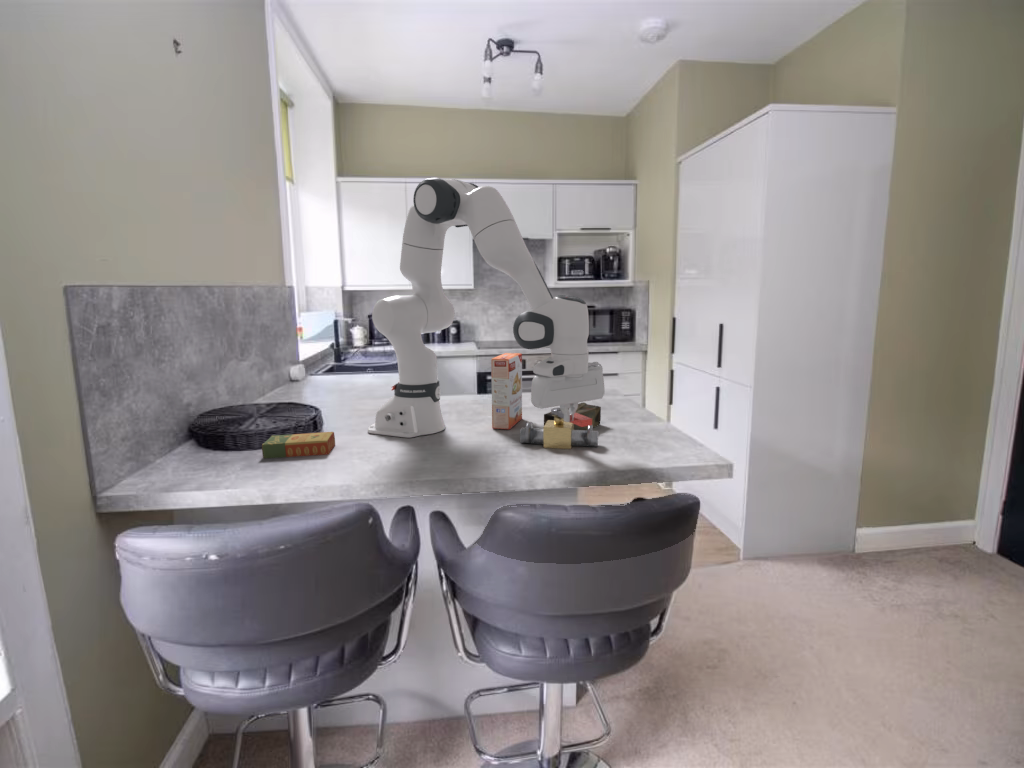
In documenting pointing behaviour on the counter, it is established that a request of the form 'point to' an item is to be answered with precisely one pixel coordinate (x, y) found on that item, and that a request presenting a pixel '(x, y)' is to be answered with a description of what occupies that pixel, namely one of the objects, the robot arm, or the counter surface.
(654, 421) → the counter surface
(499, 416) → the cracker box
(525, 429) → the valve body
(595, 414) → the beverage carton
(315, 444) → the carton
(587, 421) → the lever
